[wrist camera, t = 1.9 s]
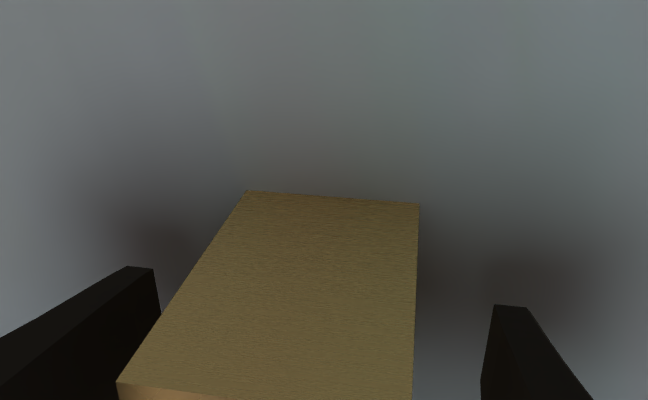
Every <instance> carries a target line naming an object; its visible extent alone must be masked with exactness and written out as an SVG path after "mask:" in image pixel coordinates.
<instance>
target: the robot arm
mask: <svg viewBox="0 0 648 400" xmlns="http://www.w3.org/2000/svg"><path fill="white" fill-rule="evenodd" d="M160 316H161V310H160V304H159V299H158V293H157V288H156V283H155V277H154V272H153V269H151V268H141V267H132V266H126V267H124V268H122V269H120V270H118V271H116V272H115V273H113V274H111V275H109V276H107V277H106V278H104V279H102V280H101V281H99V282H97V283H95V284H94V285H92V286H90V287H89V288H87V289H85V290H84V291H82V292H80V293H78V294H77V295H75V296H73V297H72V298H70V299H68V300H67V301H65V302H63V303H61V304H60V305H58V306H56V307H55V308H53V309H51V310H50V311H48V312H46V313H44V314H43V315H41V316H39V317H38V318H36V319H34V320H32V321H30V322H28V323H27V324H25V325H23V326H21V327H19V328H17V329H16V330H14V331H12V332H10V333H8V334H6V335H5V336H3V337H1V338H0V400H120V399H119V395H118V391H117V387H116V383H115V382H116V380H117V379H118V377H119V376H120V374H121V373H122V371H123V370H124V369H125V367H126V366H127V364H128V363H129V361H130V360H131V358H132V357H133V355H134V354H135V352H136V351H137V350H138V348H139V347H140V345H141V344H142V342H143V341H144V339H145V338H146V336H147V335H148V333H149V332H150V331H151V329H152V328H153V326H154V325H155V323H156V322H157V320H158V319H159V317H160ZM480 384H481V400H593V398H592V397H591V396H590V395H589V393H588V392H587V391H586V389H585V388H584V387H583V385H582V384H581V383H580V382H579V380H578V379H577V378H576V376H575V375H574V374H573V373H572V371H571V370H570V368H569V367H568V366H567V364H566V363H565V362H564V360H563V359H562V358H561V356H560V355H559V353H558V352H557V350H556V349H555V348H554V346H553V345H552V343H551V342H550V340H549V339H548V338H547V336H546V335H545V333H544V332H543V330H542V329H541V327H540V326H539V324H538V323H537V321H536V320H535V318H534V317H533V315H532V314H531V312H530V311H529V310H528V309H527V308H526V307H516V306H507V305H497V304H494V307H493V313H492V318H491V324H490V329H489V335H488V341H487V346H486V352H485V357H484V363H483V368H482V374H481V379H480Z"/></svg>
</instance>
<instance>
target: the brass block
mask: <svg viewBox="0 0 648 400" xmlns="http://www.w3.org/2000/svg"><path fill="white" fill-rule="evenodd" d="M418 228H419V203H406V202H393V201H380V200H367V199H354V198H341V197H327V196H314V195H301V194H288V193H275V192H262V191H249V190H246V192H245V193H244V195H243V196H242V198H241V199H240V201H239V202H238V203H237V205H236V206H235V208H234V209H233V211H232V212H231V214H230V215H229V217H228V218H227V220H226V221H225V222H224V224H223V225H222V227H221V228H220V230H219V231H218V233H217V234H216V236H215V237H214V239H213V240H212V241H211V243H210V244H209V246H208V247H207V249H206V250H205V252H204V253H203V255H202V256H201V258H200V259H199V260H198V262H197V263H196V265H195V266H194V268H193V269H192V271H191V272H190V274H189V275H188V277H187V278H186V279H185V281H184V282H183V284H182V285H181V287H180V288H179V290H178V291H177V293H176V294H175V296H174V297H173V298H172V300H171V301H170V303H169V304H168V306H167V307H166V309H165V310H164V312H163V313H162V314H161V316H160V317H159V319H158V320H157V322H156V323H155V325H154V326H153V328H152V329H151V331H150V332H149V333H148V335H147V336H146V338H145V339H144V341H143V342H142V344H141V345H140V347H139V348H138V350H137V351H136V352H135V354H134V355H133V357H132V358H131V360H130V361H129V363H128V364H127V366H126V367H125V369H124V370H123V371H122V373H121V374H120V376H119V377H118V379H117V380H116V382H115V383H116V387H117V391H118V395H119V399H120V400H412V381H413V356H414V330H415V305H416V279H417V254H418Z"/></svg>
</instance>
